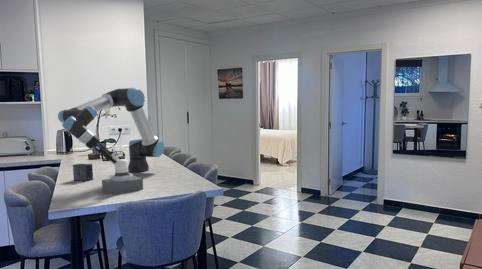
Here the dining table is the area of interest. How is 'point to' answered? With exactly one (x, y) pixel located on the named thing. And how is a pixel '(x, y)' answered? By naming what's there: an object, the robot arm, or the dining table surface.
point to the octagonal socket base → (122, 184)
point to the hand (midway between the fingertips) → (120, 164)
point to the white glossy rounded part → (122, 168)
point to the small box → (82, 172)
